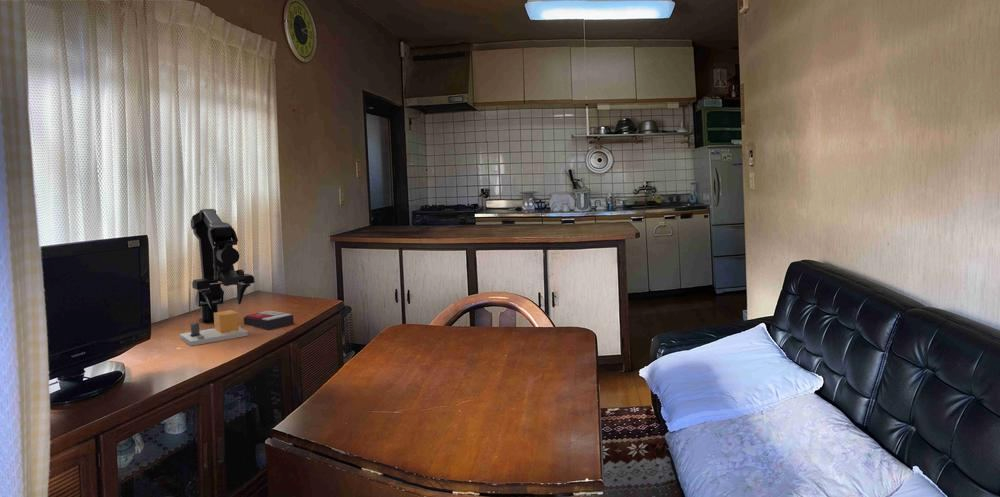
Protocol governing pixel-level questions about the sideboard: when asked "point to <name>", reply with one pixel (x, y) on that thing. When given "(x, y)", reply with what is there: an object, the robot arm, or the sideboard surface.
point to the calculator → (269, 320)
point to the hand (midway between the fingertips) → (225, 306)
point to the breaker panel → (211, 336)
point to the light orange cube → (226, 321)
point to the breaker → (195, 329)
